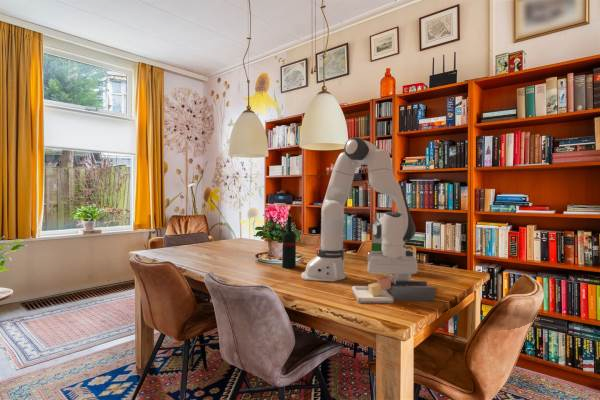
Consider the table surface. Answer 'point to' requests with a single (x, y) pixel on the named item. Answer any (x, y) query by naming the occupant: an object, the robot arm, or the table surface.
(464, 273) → the table surface
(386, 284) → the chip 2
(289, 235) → the wine bottle
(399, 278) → the supplement box
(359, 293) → the tray
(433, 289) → the slot block
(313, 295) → the table surface
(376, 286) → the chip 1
